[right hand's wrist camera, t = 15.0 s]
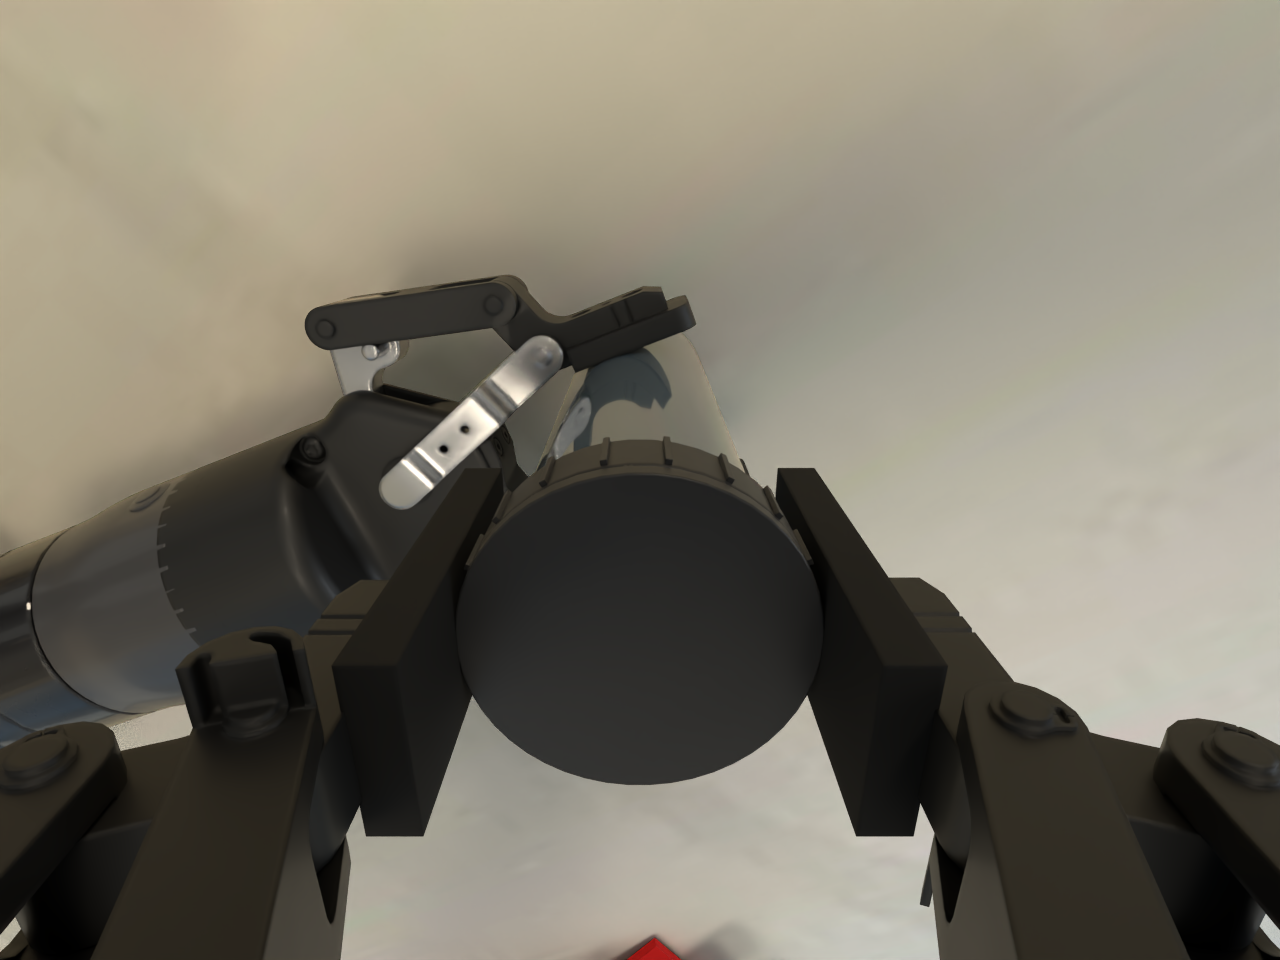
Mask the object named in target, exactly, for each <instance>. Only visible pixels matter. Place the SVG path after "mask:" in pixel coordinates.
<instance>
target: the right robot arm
mask: <svg viewBox="0 0 1280 960" xmlns="http://www.w3.org/2000/svg"><path fill="white" fill-rule="evenodd" d="M503 496H504V490H503V478H502V468H465V469H464V471H463V472H462V474H461V475H460V477H459V478H458V480H457V481H456V482H455V484H454V485H453V487H452V488H451V490H450V491H449V493H448V494H447V496H446V497H445V499H444V500H443V502H442V503H441V505H440V506H439V508H438V509H437V511H436V512H435V513H434V515H433V516H432V518H431V519H430V521H429V522H428V524H427V525H426V527H425V528H424V530H423V531H422V533H421V534H420V536H419V537H418V539H417V540H416V541H415V543H414V544H413V546H412V547H411V549H410V550H409V552H408V553H407V555H406V556H405V558H404V559H403V561H402V562H401V564H400V565H399V567H398V568H397V570H396V571H395V572H394V574H393V575H392V577H391V578H390V580H360V581H358V582H357V583H355V584H354V585H352V586H350V587H349V588H347V589H346V590H344V591H343V592H341V593H340V594H338V595H337V596H335V598H334V599H333V600H332V601H331V603H330V604H329V605H328V606H327V608H326V609H325V610H324V612H323V613H322V614H321V618H320V619H317V620H316V622H315V623H314V624H313V625H312V627H311V628H310V629H309V631H308V635H305V636H304V637H302V636H300V635H299V634H298V633H296V632H295V631H294V630H292V629H288V628H283V627H278V626H266V627H252V628H248V629H244V630H240V631H235V632H231V633H228V634H226V635H223V636H221V637H218V638H216V639H214V640H211V641H209V642H206V643H205V644H203V645H202V646H200V647H199V648H197V649H196V650H194V651H193V652H191V653H190V654H188V655H187V656H186V657H185V658H184V659H183V660H182V662H181V663H180V664H179V665H178V666H177V667H176V669H175V671H176V675H177V678H178V681H179V684H180V688H181V691H182V694H183V697H184V701H185V704H186V707H187V710H188V714H189V717H190V720H191V723H192V727H193V729H192V731H191V734H190V735H189V736H186V737H182V738H178V739H174V740H170V741H165V742H160V743H156V744H151V745H146V746H142V747H137V748H132V749H128V750H123V751H120V749H119V746H118V743H117V740H116V738H115V735H114V732H113V731H112V730H111V729H109V728H108V727H107V726H105V725H104V724H102V723H94V722H85V721H82V722H75V723H68V724H62V725H57V726H53V727H49V728H45V729H44V730H39V731H36V732H34V733H31V734H28V735H26V736H24V737H23V738H21V739H19V740H17V741H15V742H13V743H11V744H9V745H7V746H5V747H3V748H1V749H0V934H1V933H2V932H3V931H4V930H5V928H6V927H7V926H8V925H9V924H10V922H11V921H12V920H13V919H14V918H15V917H16V919H17V921H18V923H19V925H20V927H21V930H20V931H19V933H18V934H17V935H16V936H15V938H14V939H13V940H12V941H11V942H10V944H9V945H8V946H6V947H5V948H4V949H3V950H2V951H1V952H0V960H340V958H341V949H342V940H343V931H344V921H345V912H346V903H347V894H348V885H349V876H350V866H351V860H350V853H349V847H348V842H347V838H346V833H347V831H348V829H349V827H350V825H351V823H352V820H353V818H354V816H355V814H356V812H357V810H358V808H359V806H360V809H361V814H362V819H363V824H364V829H365V834H366V836H424V833H425V830H426V827H427V824H428V822H429V819H430V816H431V813H432V810H433V807H434V804H435V801H436V798H437V795H438V793H439V790H440V787H441V784H442V781H443V778H444V775H445V772H446V769H447V767H448V764H449V761H450V758H451V755H452V752H453V749H454V746H455V743H456V740H457V738H458V735H459V732H460V729H461V726H462V723H463V720H464V717H465V714H466V712H467V709H468V706H469V703H470V700H471V697H472V694H471V692H470V689H469V687H468V685H467V683H466V680H465V678H464V676H463V673H462V670H461V666H460V662H459V656H458V648H457V640H456V631H455V615H456V608H457V603H458V598H459V593H460V590H461V587H462V584H463V582H464V579H465V576H466V574H467V571H466V570H464V567H465V564H466V562H467V560H468V558H469V556H470V554H471V552H472V550H473V548H474V546H475V544H476V542H477V540H478V538H479V536H480V534H483V535H485V533H486V531H487V529H488V527H489V526H490V524H491V522H492V519H493V517H494V515H495V513H496V511H497V509H498V506H499V504H500V502H501V500H502V498H503ZM775 499H776V501H777V503H778V505H779V507H780V509H781V511H782V512H783V514H784V516H785V517H786V519H787V521H788V523H789V525H790V527H791V529H792V530H795V529H797V530H798V532H799V534H800V536H801V538H802V540H803V542H804V544H805V546H806V548H807V550H808V552H809V554H810V556H811V558H812V560H813V563H814V564H813V565H810V568H811V570H812V572H813V575H814V578H815V581H816V583H817V586H818V589H819V592H820V596H821V601H822V606H823V612H824V636H823V645H822V653H821V660H820V664H819V667H818V671H817V674H816V677H815V679H814V681H813V684H812V686H811V688H810V690H809V692H808V694H807V695H808V698H809V701H810V704H811V707H812V710H813V713H814V716H815V719H816V721H817V724H818V727H819V730H820V733H821V736H822V739H823V742H824V745H825V747H826V750H827V753H828V756H829V759H830V762H831V765H832V768H833V771H834V774H835V776H836V779H837V782H838V785H839V788H840V791H841V794H842V797H843V800H844V802H845V805H846V808H847V811H848V814H849V817H850V820H851V823H852V826H853V829H854V831H855V834H856V836H914V831H915V826H916V822H917V817H918V812H919V807H920V803H921V805H922V807H923V809H924V811H925V814H926V816H927V818H928V820H929V822H930V824H931V826H932V828H933V831H934V838H933V842H932V847H931V852H930V856H929V861H928V865H927V870H926V874H925V879H924V884H923V888H922V894H921V901H920V905H923V906H927V907H929V906H930V901H931V897H932V892H933V901H934V910H935V920H936V929H937V938H938V947H939V956H940V960H1280V949H1279V948H1278V947H1277V946H1276V945H1275V944H1274V943H1273V942H1272V941H1271V940H1270V939H1269V938H1268V936H1267V935H1266V934H1265V933H1264V931H1263V930H1262V929H1261V928H1260V924H1261V922H1262V920H1263V918H1264V916H1265V914H1267V915H1268V917H1269V918H1270V919H1271V920H1272V921H1273V923H1274V924H1275V925H1276V926H1277V927H1278V928H1279V930H1280V745H1278V744H1276V743H1274V742H1272V741H1270V740H1268V739H1266V738H1264V737H1262V736H1260V735H1258V734H1257V733H1255V732H1253V731H1250V730H1247V729H1245V728H1242V727H1237V726H1236V725H1232V724H1228V723H1224V722H1219V721H1213V720H1206V719H1199V718H1195V719H1186V720H1178V721H1177V722H1175V723H1174V724H1173V725H1171V726H1170V727H1169V728H1167V730H1166V733H1165V736H1164V739H1163V741H1162V744H1161V747H1160V748H1157V747H1152V746H1148V745H1143V744H1138V743H1133V742H1129V741H1124V740H1119V739H1115V738H1110V737H1105V736H1101V735H1098V734H1094V733H1091V732H1089V730H1088V728H1087V726H1086V725H1085V723H1084V722H1083V721H1082V719H1081V718H1080V717H1079V715H1078V714H1077V713H1076V712H1075V711H1074V710H1073V709H1071V708H1070V707H1069V706H1068V705H1066V704H1065V703H1064V702H1062V701H1061V700H1060V699H1058V698H1056V697H1054V696H1052V695H1050V694H1048V693H1046V692H1044V691H1042V690H1040V689H1038V688H1035V687H1031V686H1028V685H1024V684H1020V683H1017V682H1014V681H1013V680H1012V678H1011V677H1010V676H1009V675H1008V673H1007V672H1006V671H1005V670H1004V668H1003V667H1002V666H1001V665H1000V663H999V662H998V661H997V660H996V658H995V657H994V656H993V654H992V653H991V652H990V651H989V649H988V648H987V647H986V646H985V644H984V643H983V642H982V641H981V639H980V638H979V637H978V636H977V634H976V633H975V632H972V628H971V627H970V626H969V624H968V623H967V622H966V621H965V619H964V618H963V617H962V616H959V612H958V610H957V609H956V608H955V607H954V605H953V604H952V603H951V602H950V600H949V599H948V598H947V597H946V595H945V594H944V593H942V592H941V591H939V590H938V589H936V588H934V587H933V586H931V585H930V584H928V583H927V582H925V581H924V580H922V579H920V578H888V576H887V575H886V573H885V572H884V570H883V569H882V567H881V566H880V564H879V563H878V561H877V560H876V558H875V557H874V555H873V554H872V552H871V551H870V550H869V548H868V547H867V545H866V544H865V542H864V541H863V539H862V538H861V536H860V535H859V533H858V532H857V530H856V529H855V527H854V526H853V524H852V523H851V521H850V520H849V519H848V517H847V516H846V514H845V513H844V511H843V510H842V508H841V507H840V505H839V504H838V502H837V501H836V499H835V498H834V496H833V495H832V493H831V492H830V490H829V489H828V488H827V486H826V485H825V483H824V482H823V480H822V479H821V477H820V476H819V474H818V473H817V471H816V470H815V468H778V472H777V485H776V497H775Z"/></svg>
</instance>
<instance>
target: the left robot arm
mask: <svg viewBox="0 0 1280 960" xmlns="http://www.w3.org/2000/svg"><path fill="white" fill-rule="evenodd" d="M695 325H696V322H695V319H694V316H693V313H692V310H691V307H690V304H689V302H688V299H687V298H686V296H685V295H684V296H679V297H676V298H673V299H670V300H668V301H666V300H665V297H664V294H663V291H662V288H661V287H648V286H643V287H640V288H638V289H635V290H633V291H630V292H628V293H625V294H623V295H620V296H618V297H615V298H613V299H610V300H607V301H605V302H602V303H600V304H597V305H595V306H592V307H590V308H587V309H585V310H582V311H580V312H577V313H575V314H572V315H569V316H555V315H552V314H550V313H548V312H547V311H545V310H544V309H543V308H542V307H541V306H540V305H539V303H538V302H537V301H536V300H535V299H534V298H533V297H532V296H531V295H530V293H529V292H528V289H527V287H526V285H525V283H524V282H523V281H522V280H521V279H519V278H518V277H516V276H513V275H502V276H495V277H488V278H481V279H474V280H467V281H460V282H453V283H446V284H439V285H432V286H425V287H418V288H411V289H404V290H397V291H390V292H383V293H376V294H369V295H362V296H355V297H351V298H347V299H344V300H340V301H337V302H334V303H330V304H327V305H324V306H320V307H317V308H315V309H313V310H311V311H310V312H309V313H308V315H307V317H306V319H305V331H306V334H307V336H308V337H309V339H310V340H311V341H312V342H313V343H314V344H315V345H316V346H318V347H319V348H322V349H325V350H330V352H331V355H332V359H333V362H334V365H335V369H336V372H337V375H338V378H339V382H340V385H341V388H342V391H343V395H344V396H343V397H342V398H341V399H340V400H338V401H337V403H336V404H335V405H334V407H333V408H332V410H331V411H330V413H329V414H328V415H327V416H326V417H325V418H324V419H322V420H320V421H318V422H315V423H313V424H310V425H308V426H305V427H303V428H300V429H298V430H295V431H293V432H290V433H287V434H285V435H282V436H280V437H277V438H275V439H272V440H270V441H267V442H265V443H262V444H260V445H257V446H254V447H252V448H249V449H247V450H244V451H242V452H239V453H237V454H234V455H232V456H229V457H226V458H224V459H221V460H219V461H216V462H214V463H211V464H209V465H206V466H204V467H201V468H199V469H197V470H194V471H192V472H189V473H186V474H184V475H181V476H179V477H176V478H174V479H171V480H168V481H166V482H163V483H161V484H158V485H156V486H153V487H150V488H148V489H145V490H143V491H141V492H138V493H136V494H134V495H132V496H130V497H128V498H126V499H124V500H122V501H120V502H118V503H116V504H114V505H113V506H111V507H109V508H107V509H106V510H104V511H102V512H101V513H99V514H98V515H96V516H94V517H92V518H91V519H89V520H87V521H85V522H82V523H80V524H78V525H75V526H73V527H70V528H68V529H65V530H62V531H60V532H57V533H55V534H52V535H50V536H47V537H45V538H42V539H40V540H37V541H34V542H32V543H29V544H27V545H24V546H22V547H19V548H17V549H14V550H12V551H9V552H7V553H5V554H2V555H0V749H1V748H3V747H5V746H7V745H9V744H11V743H13V742H15V741H17V740H19V739H21V738H23V737H24V736H26V735H28V734H31V733H34V732H36V731H39V730H44V729H45V728H49V727H53V726H57V725H62V724H68V723H75V722H82V721H85V722H94V723H102V724H104V725H105V726H107V727H111V726H114V725H117V724H120V723H123V722H126V721H129V720H132V719H135V718H138V717H141V716H144V715H147V714H149V713H152V712H155V711H158V710H162V709H165V708H169V707H173V706H178V705H184V704H185V701H184V697H183V694H182V691H181V688H180V684H179V681H178V678H177V675H176V671H175V669H176V667H177V666H178V665H179V664H180V663H181V662H182V660H183V659H184V658H185V657H186V656H187V655H188V654H190V653H191V652H193V651H194V650H196V649H197V648H199V647H200V646H202V645H203V644H205V643H206V642H209V641H211V640H214V639H216V638H218V637H221V636H223V635H226V634H228V633H231V632H235V631H240V630H244V629H248V628H252V627H266V626H278V627H283V628H288V629H292V630H294V631H295V632H296V633H298V634H299V635H300V636H302V637H304V636H305V635H308V631H309V629H310V628H311V627H312V625H313V624H314V623H315V622H316V620H317V619H320V618H321V614H322V613H323V612H324V610H325V609H326V608H327V606H328V605H329V604H330V603H331V601H332V600H333V599H334V598H335V596H337V595H338V594H340V593H341V592H343V591H344V590H346V589H347V588H349V587H350V586H352V585H354V584H355V583H357V582H358V581H360V580H390V578H391V577H392V575H393V574H394V572H395V571H396V570H397V568H398V567H399V565H400V564H401V562H402V561H403V559H404V558H405V556H406V555H407V553H408V552H409V550H410V549H411V547H412V546H413V544H414V543H415V541H416V540H417V539H418V537H419V536H420V534H421V533H422V531H423V530H424V528H425V527H426V525H427V524H428V522H429V521H430V519H431V518H432V516H433V515H434V513H435V512H436V511H437V509H438V508H439V506H440V505H441V503H442V502H443V500H444V499H445V497H446V496H447V494H448V493H449V491H450V490H451V488H452V487H453V485H454V484H455V482H456V481H457V480H458V478H459V477H460V475H461V474H462V472H463V471H464V469H465V468H502V478H503V490H504V494H505V493H506V491H507V490H510V491H511V492H513V491H514V490H515V489H516V488H517V487H518V486H519V485H520V484H521V483H522V482H524V481H525V480H526V479H527V478H528V476H527V475H526V474H525V473H524V472H523V471H522V469H521V468H520V467H519V466H518V464H517V462H516V457H515V451H514V446H513V441H512V438H511V436H510V434H509V432H508V430H507V428H506V426H505V424H504V422H505V421H506V420H507V419H508V418H509V417H510V416H511V415H512V414H513V413H514V411H515V410H516V409H517V408H519V407H520V406H521V405H522V404H523V403H524V402H525V401H526V400H527V399H528V398H529V397H531V396H532V395H533V394H534V393H535V392H536V391H537V390H538V389H539V388H540V387H542V386H543V385H544V384H545V383H546V382H547V381H548V380H549V379H550V378H551V377H552V376H554V375H555V374H556V373H557V372H558V371H559V370H561V369H563V368H566V367H569V366H571V365H572V366H573V368H574V370H575V373H577V372H580V371H582V370H585V369H587V368H590V367H593V366H595V365H598V364H600V363H602V362H605V361H607V360H610V359H612V358H616V357H619V356H621V355H624V354H626V353H629V352H632V351H634V350H637V349H639V348H642V347H645V346H647V345H650V344H652V343H655V342H658V341H660V340H663V339H665V338H668V337H671V336H673V335H676V334H678V333H681V332H684V331H686V330H688V329H690V328H692V327H693V326H695ZM488 328H493V329H494V330H495V331H496V332H497V333H498V334H499V335H500V336H501V337H502V339H503V340H504V341H505V342H506V343H507V344H508V345H509V346H510V347H511V348H512V349H513V350H514V351H513V352H512V353H511V354H510V355H509V356H508V357H507V358H506V359H505V360H504V361H503V362H501V363H500V364H499V365H498V366H497V367H496V368H495V369H494V370H493V371H492V372H490V373H489V374H488V375H487V376H486V377H485V378H484V379H483V380H482V381H481V382H480V383H479V384H478V385H477V386H476V387H475V388H474V389H472V390H471V391H470V392H469V393H468V394H467V395H466V396H465V397H464V398H463V399H462V400H461V401H460V402H456V401H452V400H448V399H444V398H440V397H436V396H432V395H428V394H424V393H420V392H416V391H412V390H408V389H404V388H400V387H396V386H393V385H389V384H384V383H383V380H382V376H383V372H384V370H385V368H386V367H388V366H391V365H392V364H394V363H396V362H397V361H399V360H400V359H402V358H403V357H404V356H405V355H406V354H407V352H408V350H409V339H416V338H423V337H430V336H437V335H445V334H452V333H459V332H466V331H473V330H480V329H488ZM740 461H741V464H742V466H743V469H744V471H745V473H746V474H747V475H748V476H750V475H749V473H748V470H747V468H746V465H745V463H744V461H743V460H742V459H740Z"/></svg>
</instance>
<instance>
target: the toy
mask: <svg viewBox="0 0 1280 960" xmlns="http://www.w3.org/2000/svg"><path fill="white" fill-rule="evenodd" d="M627 960H681V959H680V958H678V957H677V956H676V955H675V954H674V953H672V952H671V951H670V950H669V949H668V948H666V947H665V946H664V945H663V944H662V943H660V942H659V941H658V940H657V939H656V938H654V939H652V940H651V941H650V942H649V943H647V944H646V945H645V946H643V947H642V948H641V949H640V950H638V951H637V952H636V953H635V954H633V955H632V956H631V957H629V958H628V959H627Z"/></svg>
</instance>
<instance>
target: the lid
mask: <svg viewBox="0 0 1280 960" xmlns="http://www.w3.org/2000/svg"><path fill="white" fill-rule="evenodd" d="M813 564H814V563H813V560H812V558H811V556H810V554H809V552H808V550H807V548H806V546H805V544H804V542H803V540H802V538H801V536H800V534H799V532H798V530H797V529H795V530H792V529H791V527H790V525H789V523H788V521H787V519H786V517H785V516H784V514H783V512H782V511H781V509H780V507H779V505H778V503H777V501H776V499H775V497H774V495H773V493H772V490H771V489H770V488H769V487H768V486H766V487H764V488H762V487H761V486H760V485H759V484H758V483H757V482H756V481H755V480H754V479H752V478H751V477H750V476H748V475H747V474H746V473H744V472H743V471H742V470H740V469H739V468H738V467H736V466H734V465H732V464H731V463H729V462H728V459H727V456H726V455H725V454H723V453H720V455H719V457H718V456H715V455H713V454H710V453H708V452H705V451H703V450H701V449H698V448H694V447H690V446H687V445H683V444H679V443H675V442H671V440H670V437H667V436H664V437H663V441H660V440H640V439H629V440H620V441H612V442H611V441H610V437H606V438H603V442H602V443H601V444H597V445H593V446H589V447H585V448H582V449H579V450H577V451H574V452H571V453H569V454H566V455H564V456H562V457H560V458H558V459H555V458H554V456H551V457H549V458H548V459H547V462H546V464H545V466H543V467H542V468H541V469H539V470H538V471H536V472H535V473H534V474H532V475H531V476H530V477H528V478H527V479H526V480H525V481H524V482H522V483H521V484H520V485H519V486H518V487H517V488H516V489H515V490H514V491H513V492H511V491H510V490H507V491H506V493H505V494H504V496H503V498H502V500H501V502H500V504H499V506H498V509H497V511H496V513H495V515H494V517H493V519H492V522H491V524H490V526H489V527H488V529H487V531H486V533H485V535H483V534H480V536H479V538H478V540H477V542H476V544H475V546H474V548H473V550H472V552H471V554H470V556H469V558H468V560H467V562H466V564H465V567H464V570H466V571H467V574H466V576H465V579H464V582H463V584H462V587H461V590H460V593H459V598H458V603H457V608H456V615H455V631H456V640H457V648H458V656H459V662H460V666H461V670H462V673H463V676H464V678H465V680H466V683H467V685H468V687H469V689H470V692H471V694H472V695H473V697H474V698H475V700H476V702H477V703H478V705H479V707H480V708H481V710H482V711H483V712H484V713H485V715H486V716H487V717H488V718H489V720H490V721H491V722H492V723H493V724H494V726H495V727H496V728H498V729H499V730H500V731H501V732H502V733H503V734H504V735H505V736H506V737H507V738H508V739H509V740H510V741H512V742H513V743H514V744H516V745H517V746H518V747H520V748H521V749H522V750H524V751H525V752H527V753H528V754H530V755H532V756H534V757H535V758H537V759H539V760H540V761H542V762H544V763H546V764H548V765H550V766H553V767H555V768H557V769H560V770H562V771H564V772H567V773H570V774H573V775H577V776H580V777H583V778H587V779H591V780H596V781H601V782H606V783H615V784H625V785H654V784H665V783H673V782H678V781H683V780H688V779H693V778H696V777H700V776H703V775H706V774H709V773H713V772H715V771H717V770H720V769H722V768H724V767H727V766H729V765H731V764H734V763H735V762H737V761H739V760H741V759H742V758H744V757H746V756H748V755H750V754H751V753H753V752H754V751H755V750H757V749H758V748H760V747H761V746H762V745H764V744H765V743H767V742H768V741H769V740H770V739H771V738H772V737H773V736H774V735H776V734H777V733H778V732H779V731H780V730H781V729H782V728H783V727H784V726H785V725H786V724H787V722H788V721H789V720H790V719H791V718H792V716H793V715H794V714H795V713H796V712H797V710H798V709H799V707H800V706H801V704H802V702H803V701H804V699H805V698H806V696H807V694H808V692H809V690H810V688H811V686H812V684H813V681H814V679H815V677H816V674H817V671H818V667H819V664H820V660H821V653H822V645H823V636H824V612H823V606H822V601H821V596H820V592H819V589H818V586H817V583H816V581H815V578H814V575H813V572H812V570H811V568H810V565H813Z"/></svg>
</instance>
